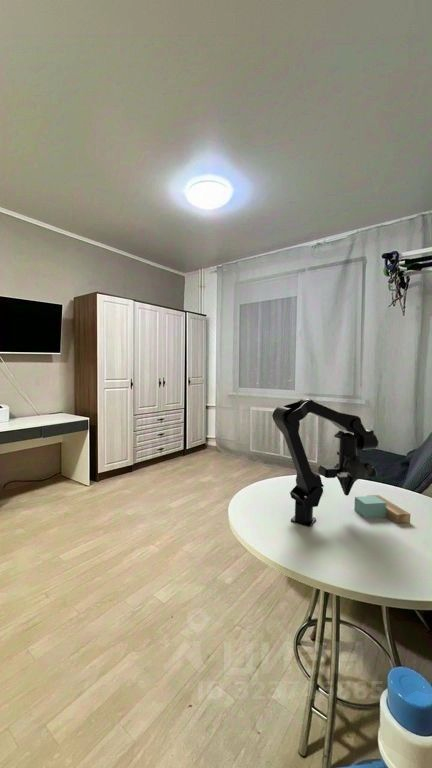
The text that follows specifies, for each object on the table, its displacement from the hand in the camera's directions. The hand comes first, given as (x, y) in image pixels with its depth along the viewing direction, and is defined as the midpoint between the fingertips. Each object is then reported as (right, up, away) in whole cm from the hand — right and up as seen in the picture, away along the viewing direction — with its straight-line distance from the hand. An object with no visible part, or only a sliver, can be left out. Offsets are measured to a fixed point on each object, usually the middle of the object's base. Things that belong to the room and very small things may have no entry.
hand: (346, 495), depth 111 cm
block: (+9, -7, +2) cm, 12 cm away
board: (+16, -7, +3) cm, 17 cm away
